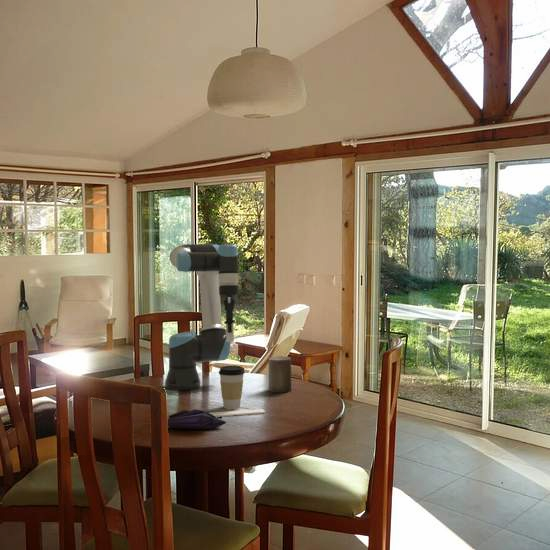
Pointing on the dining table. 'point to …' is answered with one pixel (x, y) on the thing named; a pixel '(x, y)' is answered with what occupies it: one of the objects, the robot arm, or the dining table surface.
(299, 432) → the dining table surface
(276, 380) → the pillar candle
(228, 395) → the coffee cup
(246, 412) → the cream flat slat
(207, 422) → the crystal
